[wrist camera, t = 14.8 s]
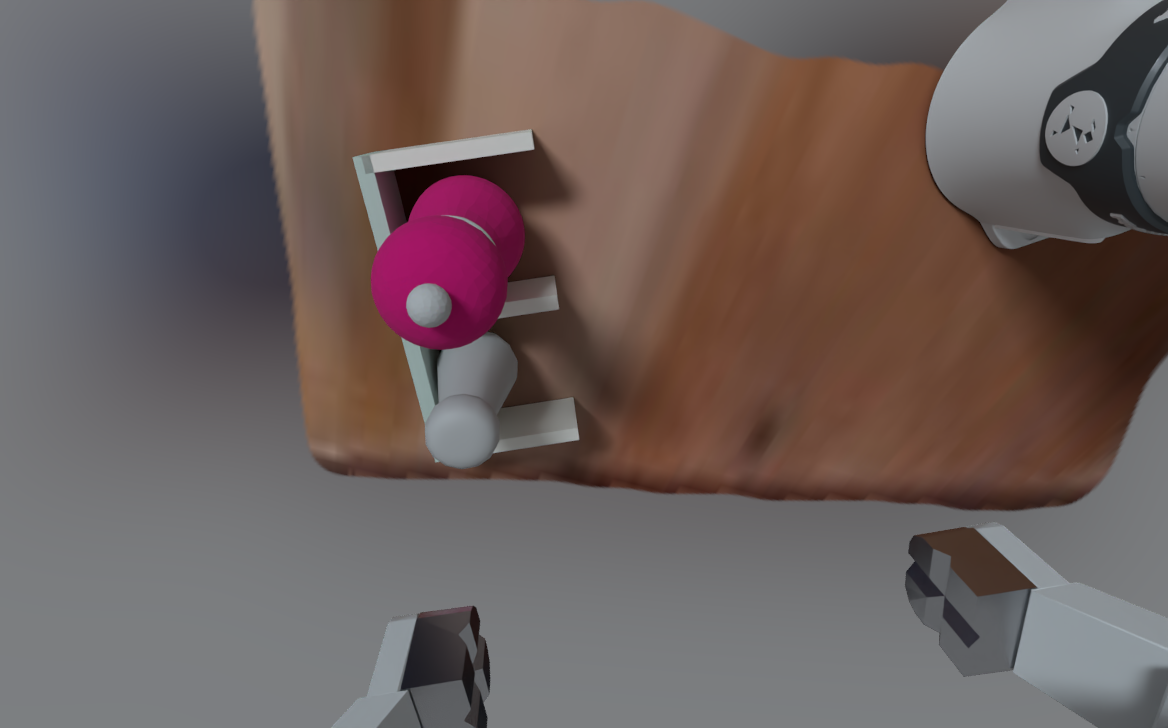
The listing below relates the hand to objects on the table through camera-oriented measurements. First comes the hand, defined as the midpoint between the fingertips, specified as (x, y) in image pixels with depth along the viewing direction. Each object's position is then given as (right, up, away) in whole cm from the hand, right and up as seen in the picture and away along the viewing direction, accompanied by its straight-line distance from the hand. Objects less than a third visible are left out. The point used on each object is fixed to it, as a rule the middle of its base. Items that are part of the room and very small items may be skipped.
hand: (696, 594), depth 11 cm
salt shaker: (-10, +5, +34) cm, 36 cm away
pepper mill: (-10, +14, +31) cm, 35 cm away
